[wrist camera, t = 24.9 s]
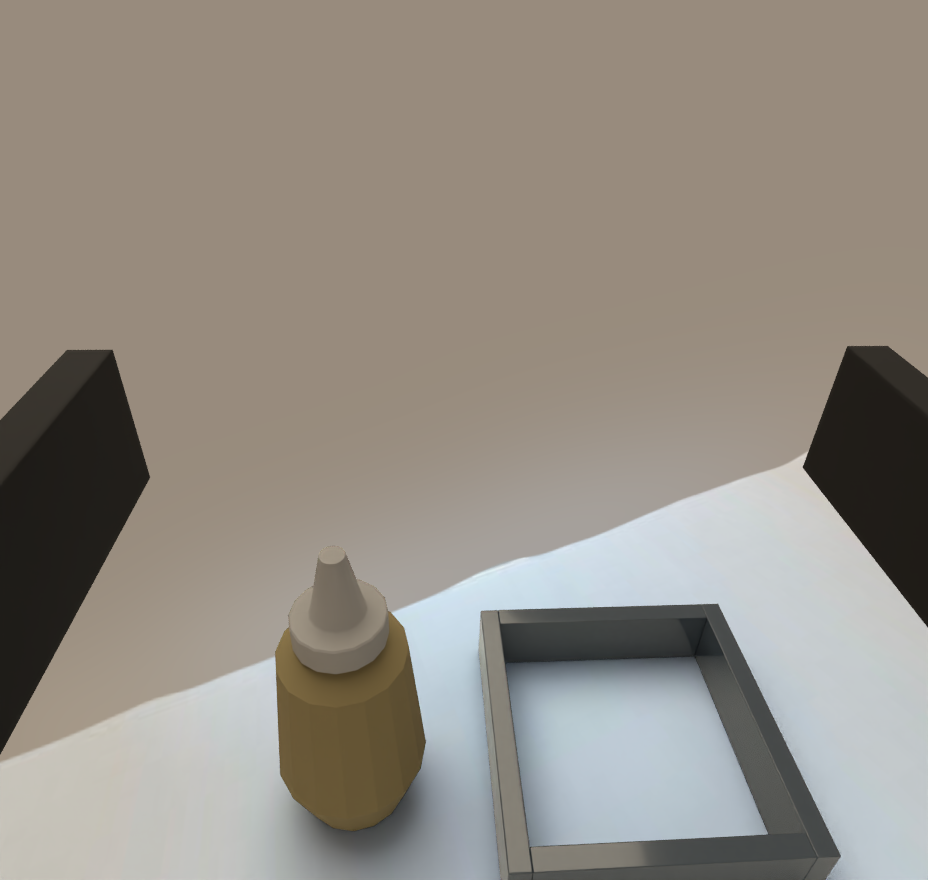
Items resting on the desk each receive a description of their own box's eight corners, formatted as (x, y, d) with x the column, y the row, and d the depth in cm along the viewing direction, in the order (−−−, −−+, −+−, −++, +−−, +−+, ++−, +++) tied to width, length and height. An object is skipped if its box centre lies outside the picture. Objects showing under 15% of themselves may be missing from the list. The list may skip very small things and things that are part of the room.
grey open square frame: (705, 642, 49) (718, 603, 47) (816, 894, 36) (841, 856, 33) (478, 649, 48) (480, 610, 46) (503, 912, 35) (508, 874, 32)
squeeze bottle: (445, 742, 42) (449, 519, 32) (392, 876, 36) (377, 650, 26) (328, 703, 44) (297, 482, 34) (258, 824, 38) (196, 595, 28)
